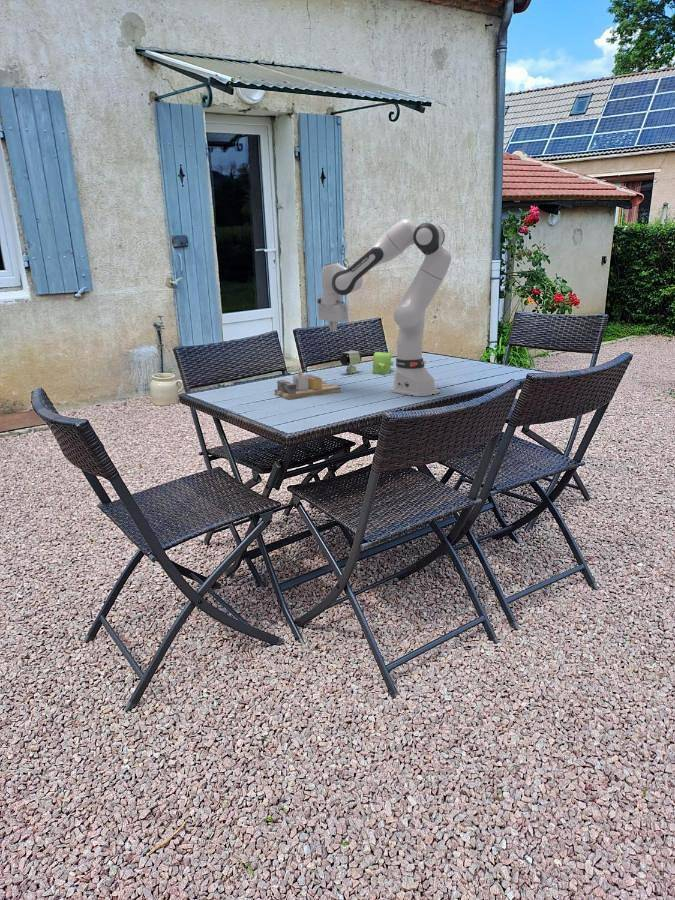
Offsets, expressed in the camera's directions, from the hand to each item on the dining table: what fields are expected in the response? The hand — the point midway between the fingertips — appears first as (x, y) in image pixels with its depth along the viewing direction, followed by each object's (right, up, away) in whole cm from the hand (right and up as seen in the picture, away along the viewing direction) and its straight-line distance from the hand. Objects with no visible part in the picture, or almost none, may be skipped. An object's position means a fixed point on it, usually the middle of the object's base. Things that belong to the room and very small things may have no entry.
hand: (333, 331), depth 305 cm
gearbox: (+25, -15, +36) cm, 47 cm away
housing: (-14, -27, -8) cm, 32 cm away
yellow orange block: (-9, -26, -5) cm, 28 cm away
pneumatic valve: (+9, -15, +35) cm, 40 cm away
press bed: (-12, -29, -6) cm, 31 cm away
